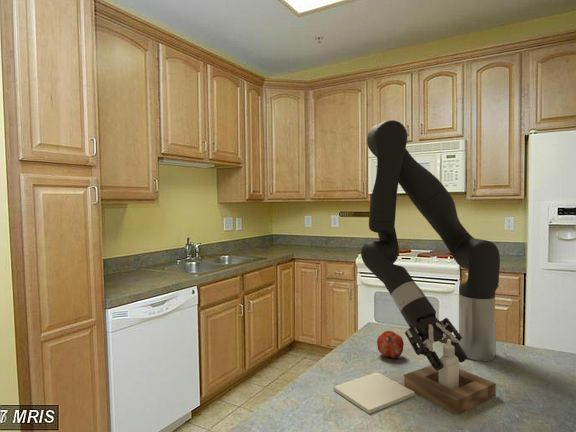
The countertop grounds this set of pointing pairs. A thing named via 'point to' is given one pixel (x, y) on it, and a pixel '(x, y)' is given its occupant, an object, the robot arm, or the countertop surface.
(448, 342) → the eye dropper bottle
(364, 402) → the off-white tile
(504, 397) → the countertop surface
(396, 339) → the pomegranate
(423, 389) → the walnut socket stand
